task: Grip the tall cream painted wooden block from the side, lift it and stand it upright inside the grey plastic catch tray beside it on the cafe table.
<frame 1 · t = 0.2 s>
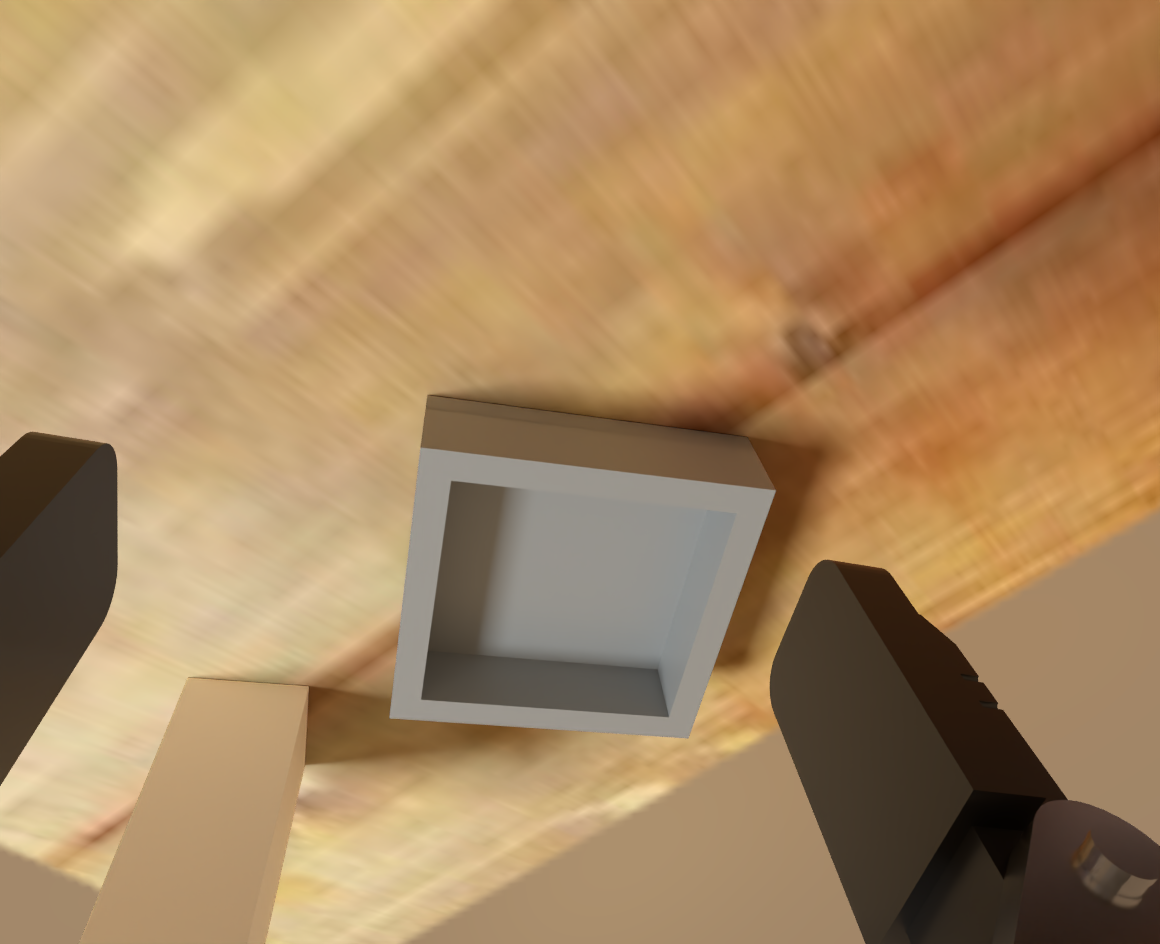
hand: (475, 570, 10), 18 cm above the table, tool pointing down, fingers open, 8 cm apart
catch tray: (563, 549, 32), on the table
cream block: (248, 723, 35), on the table
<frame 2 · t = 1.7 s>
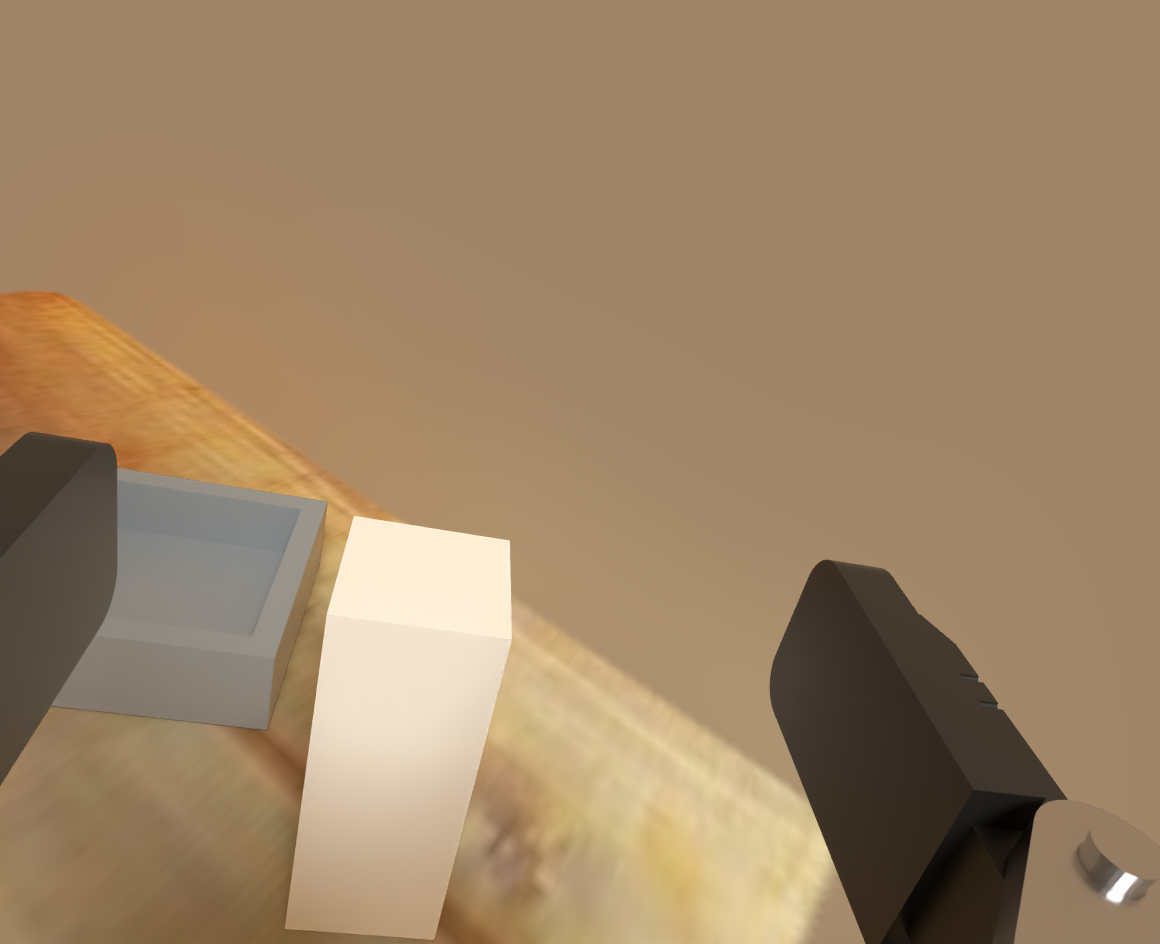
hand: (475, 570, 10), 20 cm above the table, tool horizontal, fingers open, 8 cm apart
catch tray: (161, 617, 37), on the table
cream block: (370, 870, 29), on the table
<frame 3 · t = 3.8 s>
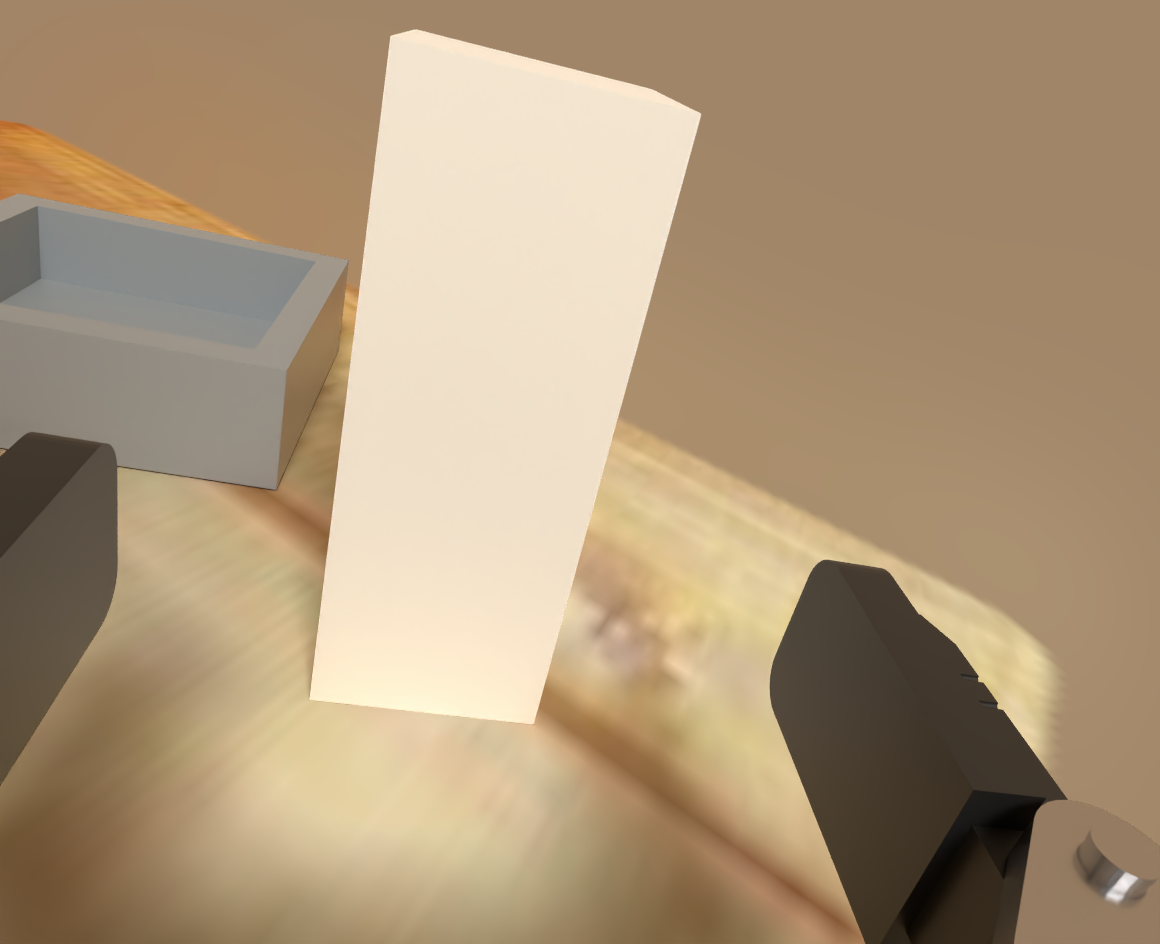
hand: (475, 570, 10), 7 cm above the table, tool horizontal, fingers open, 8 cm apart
catch tray: (132, 377, 27), on the table
cream block: (430, 641, 20), on the table
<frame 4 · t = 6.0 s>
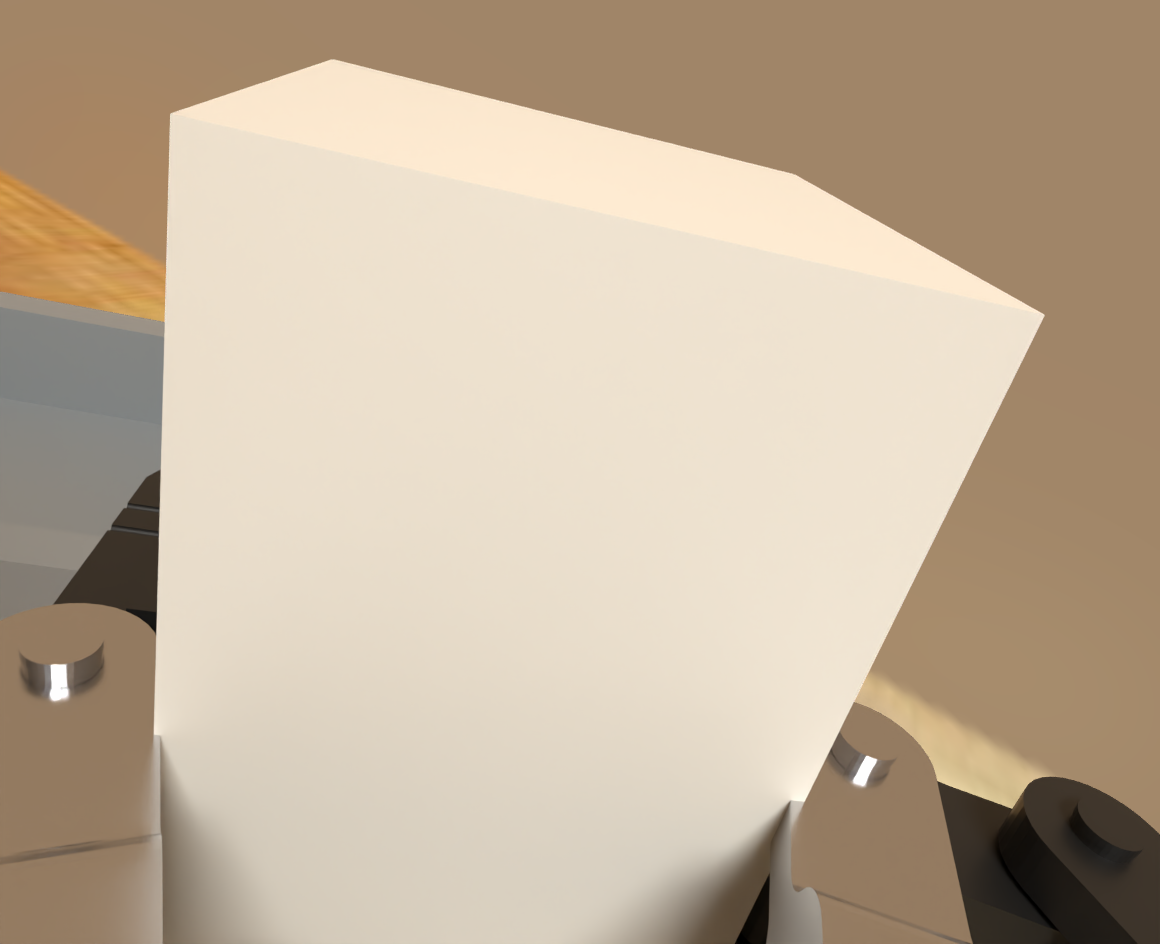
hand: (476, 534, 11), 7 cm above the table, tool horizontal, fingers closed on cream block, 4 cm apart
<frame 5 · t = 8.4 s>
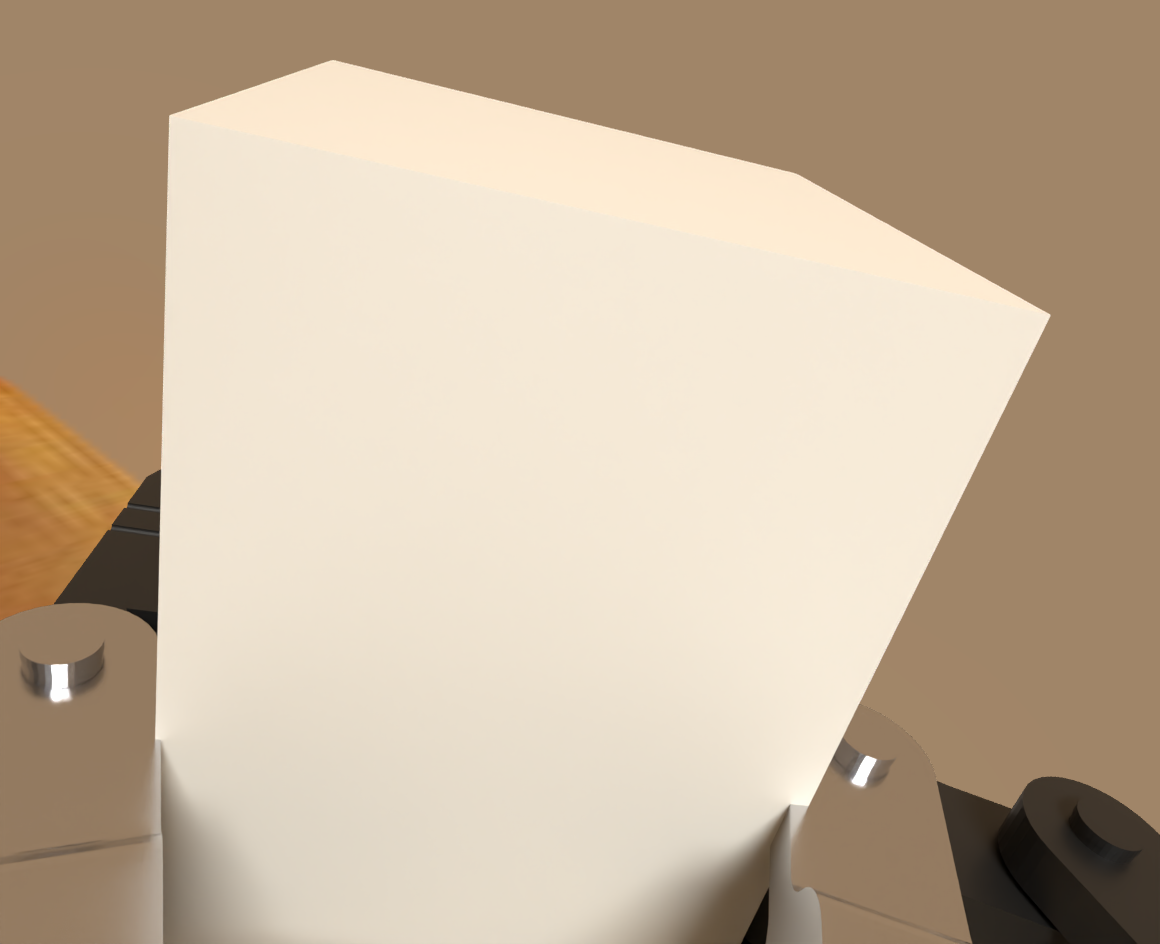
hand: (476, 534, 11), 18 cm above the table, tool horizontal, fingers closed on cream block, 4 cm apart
when the fingers open (9 cm above the table, at t = 11.1 s): cream block drops 1 cm, resting on catch tray.
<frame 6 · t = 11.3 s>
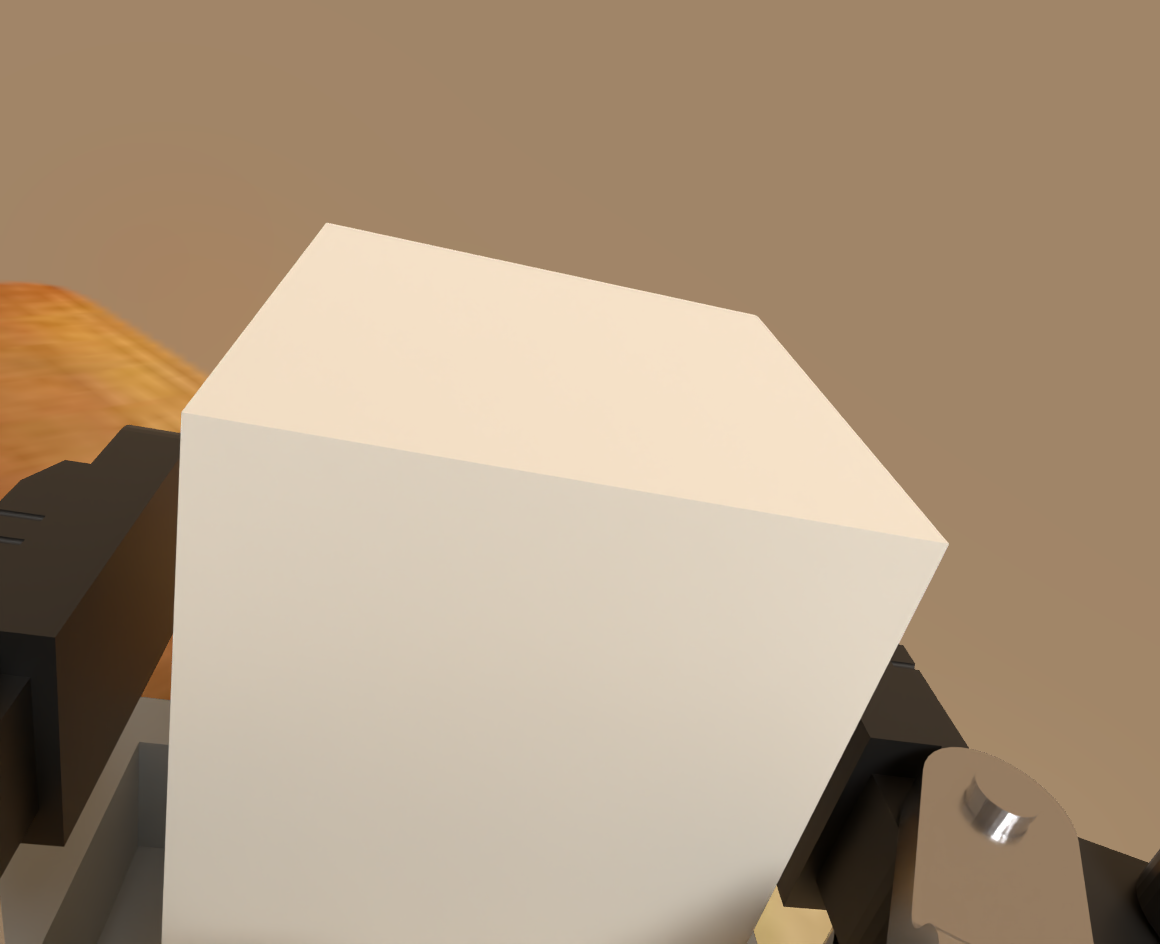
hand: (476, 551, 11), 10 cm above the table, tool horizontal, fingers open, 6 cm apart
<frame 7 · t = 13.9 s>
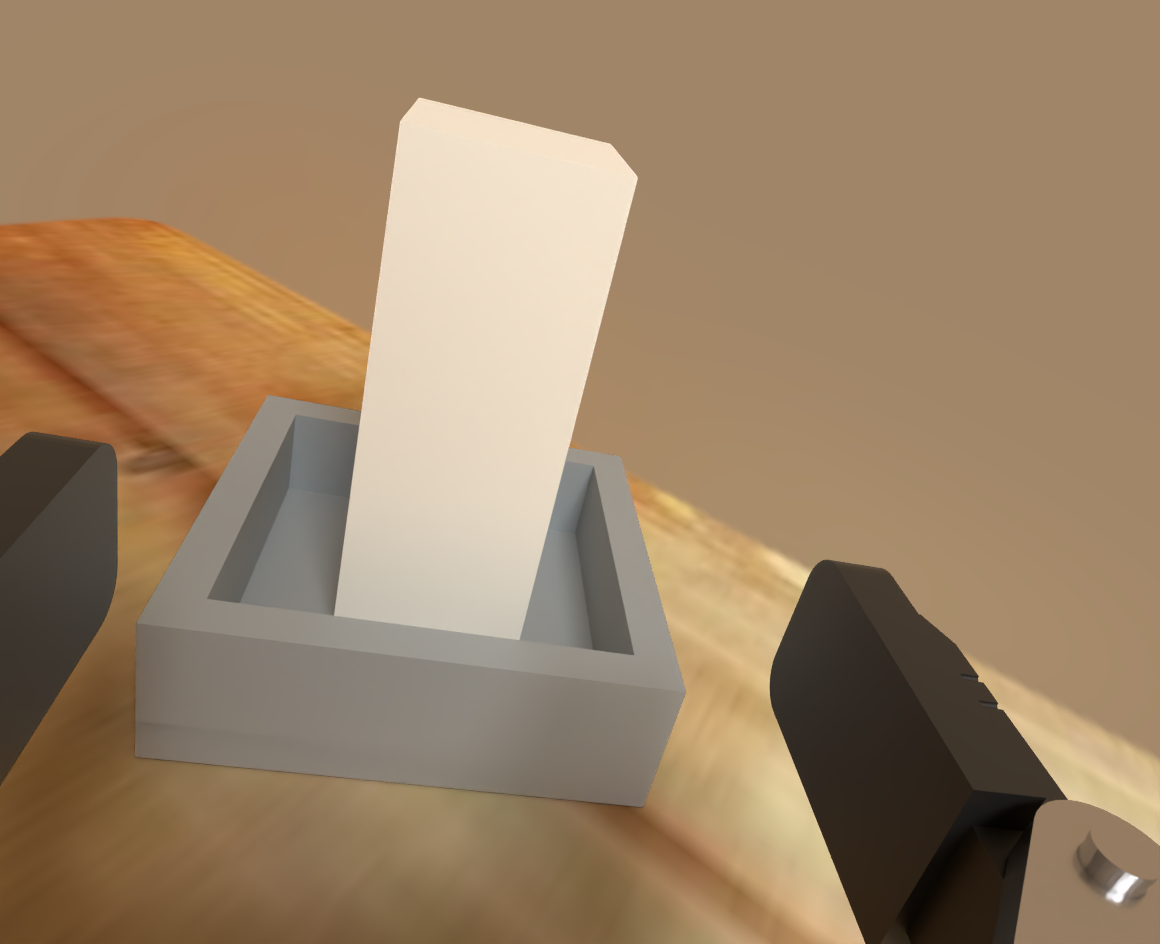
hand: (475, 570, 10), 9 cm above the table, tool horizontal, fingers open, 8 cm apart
catch tray: (420, 626, 24), on the table
cream block: (430, 596, 24), point 1 cm above the table, touching catch tray
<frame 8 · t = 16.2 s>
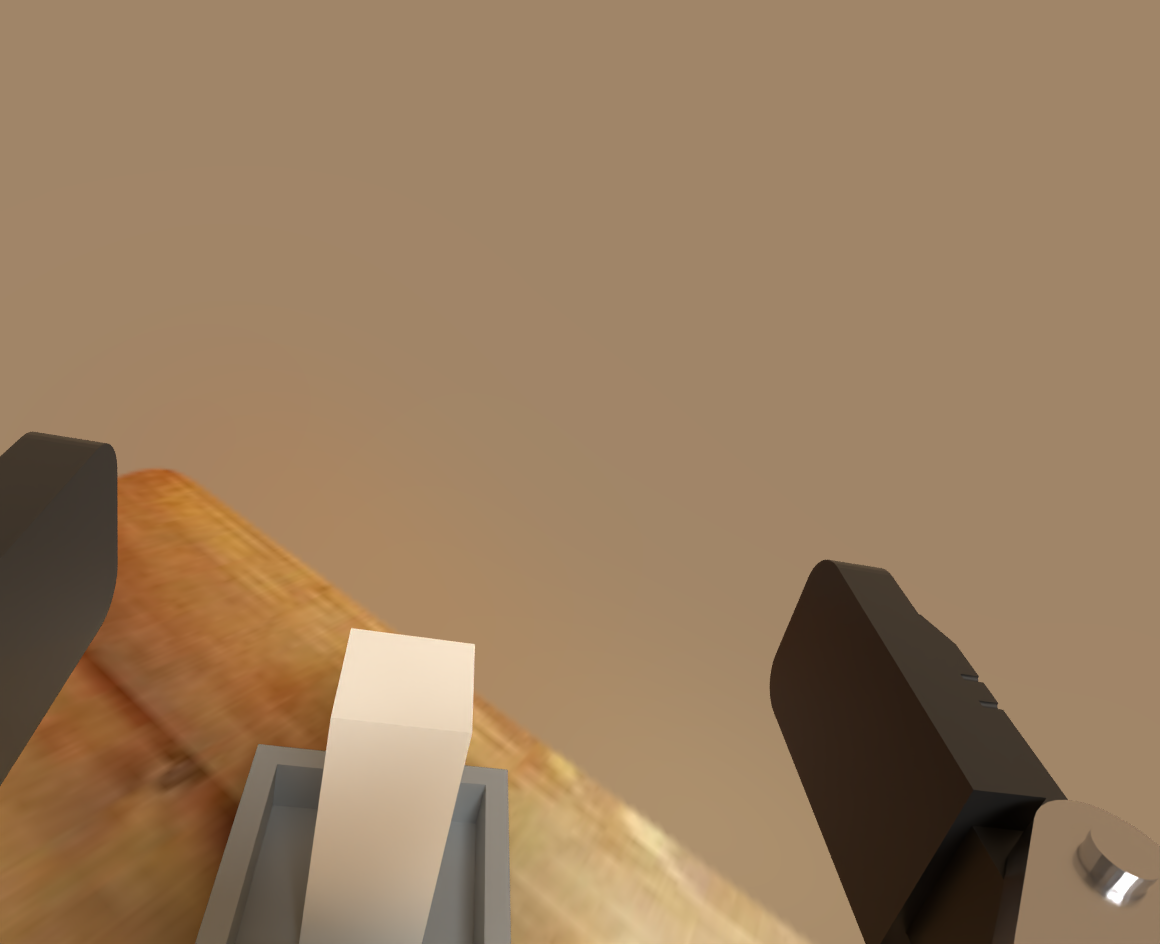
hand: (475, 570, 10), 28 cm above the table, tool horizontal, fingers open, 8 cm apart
catch tray: (360, 921, 36), on the table
cream block: (365, 904, 35), point 1 cm above the table, touching catch tray
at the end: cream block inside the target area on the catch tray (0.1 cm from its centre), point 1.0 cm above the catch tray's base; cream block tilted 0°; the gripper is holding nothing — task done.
